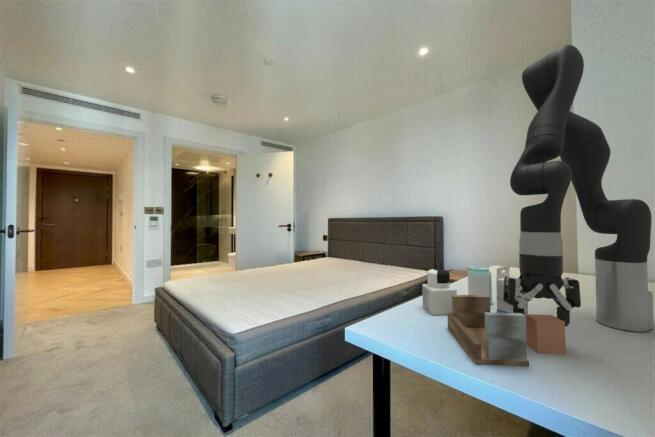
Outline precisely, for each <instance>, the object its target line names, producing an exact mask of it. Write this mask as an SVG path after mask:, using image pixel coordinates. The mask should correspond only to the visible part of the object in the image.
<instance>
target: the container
mask: <svg viewBox="0 0 655 437" xmlns="http://www.w3.org/2000/svg"><path fill="white" fill-rule="evenodd" d="M426 273H427V274H426V275H427V276H426V278H427V283H422V287H421V288H422V307H423V308H424V309H425V310H426V311H427V312H428V313H430V314H431V315H432V316H445V315H447V316H448V314H447V313H450V314H452V295H458V294H457V289H456V288H454V287H452V286H450V285H451V281H450V280H451V277H450V272H449V271H448V270H446V269H442V268H431V269H429V270H427V272H426Z"/></svg>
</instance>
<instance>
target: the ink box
mask: <svg viewBox="0 0 655 437" xmlns="http://www.w3.org/2000/svg"><path fill="white" fill-rule="evenodd" d="M510 267H511V266H510V264H508V265H503V266H500V267H497V268H496V281H495V282H496V313H513V305H510V304H508V303H507V302H505V301H504V300H503V294H504V278H505V277H506V276H508V277H511V278H519V277H520V276H517V275H512V274H511V275H510V269H511V268H510ZM502 271H504V272H502ZM521 287H522V286H521V285H520V284H518V287H516V289H515V297H516V295H517V292H518V291H519V290H520V289H521ZM526 294H527V293H526ZM526 294H525V295H526ZM523 308H524V313H525V314H529V302H527V303H526V304H525V306H524V307H523Z"/></svg>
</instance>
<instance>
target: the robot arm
mask: <svg viewBox="0 0 655 437" xmlns="http://www.w3.org/2000/svg"><path fill="white" fill-rule="evenodd" d="M584 64H585V62H584V57H583V55H582V53H581V51H580V50H579V49H578V48H577V47H576V46H574V45H572V44H565V45H562V46H560V47H558V48H556V49H554V50H552V51H551V52H550V53H547V54H546V55H545V56H542V57H541V58H539V59H538V60H537V61H534V62H533V63H531V64H530V65H528V66H527V67H526V68H524V69H523V71H522V74H521V82H522V85H523V87H524V90H525V92H526V94H527V96H528V97H529V99H530V100H531V102H532V104H533V106H534V107H535V109H536V110H537V112H536V113H535V115H534V117H533V118H532V120H531V122H530V123H529V126H528V128H527V132H526V139H525V144H524V149H523V152H521V153H522V154H521V155H520V157H519V159H518V161H517V162H516V165H514V168H513V169H512V172H511V174H510V178H509V179H510V180H509V185H510V188H511V190H512V192H514V193H515V194H516V195H518V196H534V195H535V196H538V195H547V196H546V198H545V199H544V200H543V201H542V202H540V203H536V204H532V205H527V206H524V207H522V208H521V210H520V212H519V215H520V216H519V218H520V219H519V220H520V221H519V222H520V228H519V229H520V234H519V238H518V239H519V242H518V245H519V246H518V248H519V250H518V256H519V257H518V258H519V259H518V260H519V261H518V264H519V265H518V266H519V268H518V269H519V273H520V275H519V276H518V277H519V278H511V277H508V276H506V277H505V278H504V294H503V300H504V301H505V302H507V303H508V304H510V305H513V313H522V314H524V315H525V313H524V308H523V307H524V306H525V304H526V303H527V302H528V303H529V302H531V301H532V300H533V299H543V298H544V299H546V300H550V299H551V300H553V302H554V303H555V304H556V305H557V307H556V317H557V318H559V319H561V320H562V321H564V322H565V328H567V327H568V326H569V324H570V323H571V310H572V309H574V308H581V306H582V304H581V301H582V300H581V290H580V282H579V280H577V279H574V278H571V277H565V278H563V277H562V275H563V273H564V258H563V256H564V255H563V247H564V246H563V239H562V222H561V221H562V208H563V204H564V202H565V198H566V195H567V192H568V190H569V187H570V185H571V184H572V186H573V189H574V191H575V194H576V197H577V200H578V203H579V206H580V209H581V213H582V216H583V218H584V221H585V223H586V225H587V226H588V228H589V230H591V231H592V232H594V233H597V234H603V235H616V239H615V241H614V242H613V243H611V244H609V245H606V246H605V245H604V246H600V247H596V249H595V250H594V264H595V265H594V267H595V277H594V278H595V305H596V307H595V310H596V316H595V317H596V321H597V322H598V323H599V324H602V325H604V326H608V327H610V328H615V329H618V330H623V331H628V332H640V333H642V332H643V333H644V332H649V331H651V330H652V329H654V330H655V328H654V325H655V323H654V320H655V319H654V294H653V291H650V290H649V277H648V276H649V275H648V274H649V273H648V272H649V271H648V255H649V252H650V249H651V235H652V221H653V220H652V213H651V209H650V206H649V205H648V203H647V202H645V201H644V200H641V199H638V198H629V199H628V198H626V199H612V200H611V199H610V200H609V199H608V198H607V196H606V194H605V192H604V189H603V183H602V181H603V176H604V174H605V172H606V169H607V166H608V164H609V161H610V159H611V147H610V145H609V142H608V140H607V138H606V135H605V133H604V132H603V130H602V127H601V126H600V125H598V124H597V123H595V122H594V121H592V120H590V119H588V118H586V117H583V116H581V115H579V114H577V113H574V112H572V111H571V108H572V106H573V104H574V100H575V98H576V94H577V93H578V90H579V86H580V84H581V81H582V78H583V74H584V69H585V68H584V67H585V65H584ZM558 157H559V158H560V160H554V159H557V158H558ZM518 284H520V285H521V286H522V287H521V289H520V290H519V291H518V292H517V295H516V297H515V289H516V287H518ZM562 288H564V292H565V295H564V294H563V293H562V292H561V291H560V290H561V289H562ZM526 293H527V294H526ZM525 294H526V295H525Z"/></svg>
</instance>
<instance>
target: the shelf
mask: <svg viewBox="0 0 655 437" xmlns="http://www.w3.org/2000/svg"><path fill="white" fill-rule="evenodd" d="M447 314H448V315H447V329H448V331H449V333H451V334H452V336H453V337H454V338H455V339H456V341H457V342H458V343H459V345H460V346H461V348H463V350H464V351H465V353H466V354H467V355H468V357H469V358H470V359H471V360H472V362H473V363H474V364H475V365H492V366H493V365H494V366H513V367H514V366H515V367H530V361H529V360H528V352H527V351H528V350H527V347H528V346H527V345H526V316H525V315H524V314H522V313H497V312H491V303H490V297H489V296H487V295H468V294H457V295H452V314H450V313H447Z"/></svg>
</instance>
